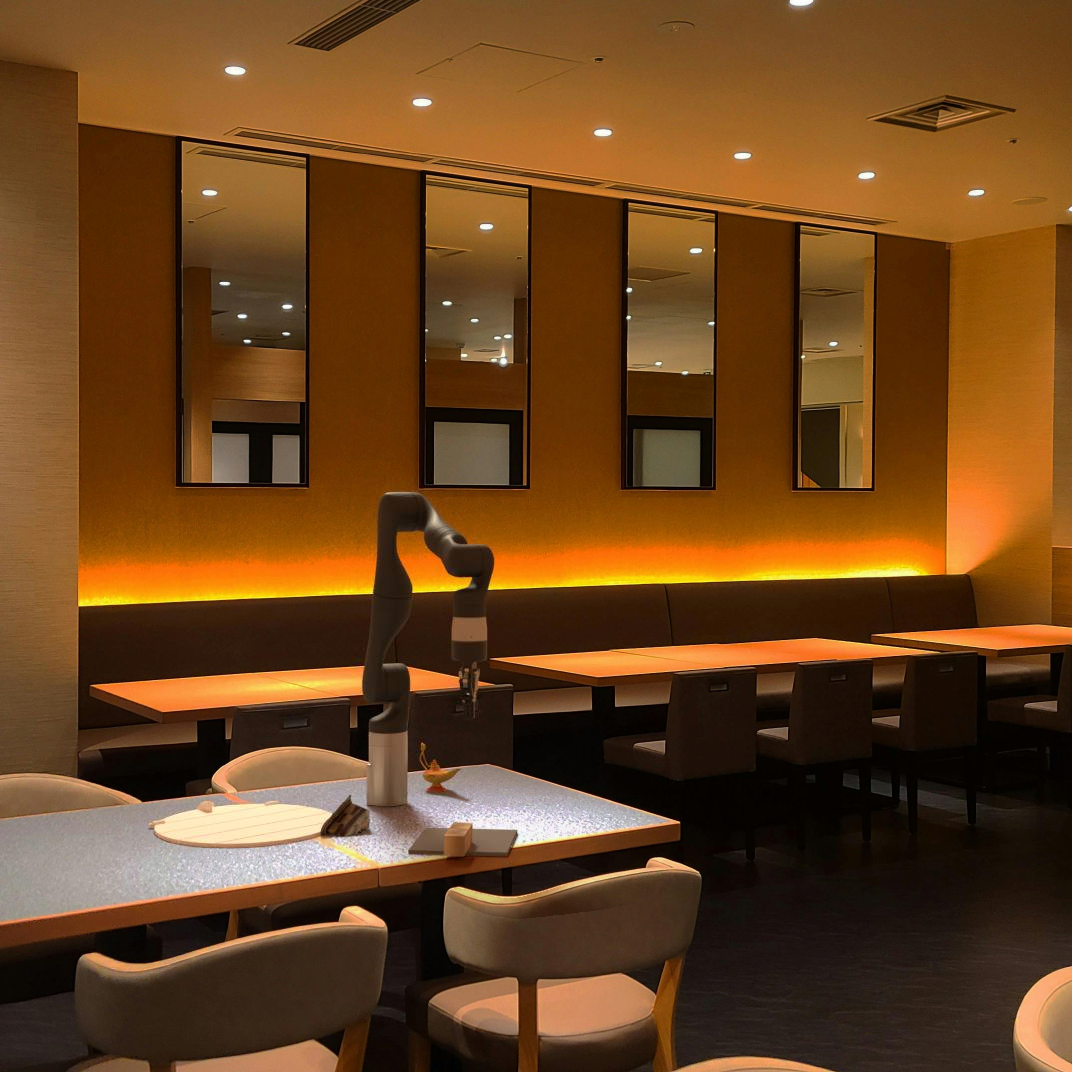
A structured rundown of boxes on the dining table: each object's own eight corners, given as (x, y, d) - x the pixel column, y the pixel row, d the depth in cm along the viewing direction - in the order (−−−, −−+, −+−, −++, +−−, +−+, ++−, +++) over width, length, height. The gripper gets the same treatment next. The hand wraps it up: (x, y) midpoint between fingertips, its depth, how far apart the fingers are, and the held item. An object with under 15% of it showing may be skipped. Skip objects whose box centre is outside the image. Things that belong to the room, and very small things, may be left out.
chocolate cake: (346, 842, 275) (375, 796, 282) (318, 830, 278) (347, 785, 285) (354, 864, 282) (382, 818, 289) (326, 852, 285) (355, 807, 292)
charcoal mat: (408, 853, 263) (408, 849, 263) (425, 831, 283) (425, 827, 283) (507, 856, 262) (507, 852, 262) (517, 833, 282) (517, 829, 282)
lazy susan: (119, 826, 289) (119, 811, 289) (270, 801, 316) (270, 786, 316) (215, 859, 260) (215, 842, 260) (372, 828, 288) (372, 812, 288)
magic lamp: (450, 798, 318) (450, 753, 318) (408, 787, 332) (408, 743, 332) (472, 794, 323) (473, 750, 323) (430, 783, 337) (430, 741, 337)
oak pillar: (453, 841, 271) (443, 855, 259) (453, 822, 271) (444, 835, 259) (472, 842, 270) (463, 856, 258) (472, 822, 270) (464, 836, 258)
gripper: (482, 641, 271) (482, 724, 271) (490, 635, 285) (490, 715, 285) (446, 640, 272) (446, 723, 272) (456, 635, 285) (456, 714, 285)
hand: (469, 719), depth 278 cm, fingers closed
